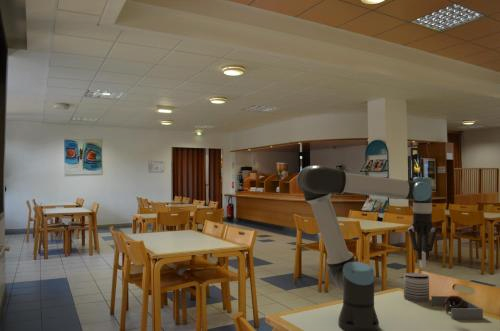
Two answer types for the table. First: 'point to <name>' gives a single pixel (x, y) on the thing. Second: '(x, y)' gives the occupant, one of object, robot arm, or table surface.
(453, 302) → the brown ring with knob
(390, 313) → the table surface
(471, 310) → the box
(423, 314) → the table surface
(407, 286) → the can
